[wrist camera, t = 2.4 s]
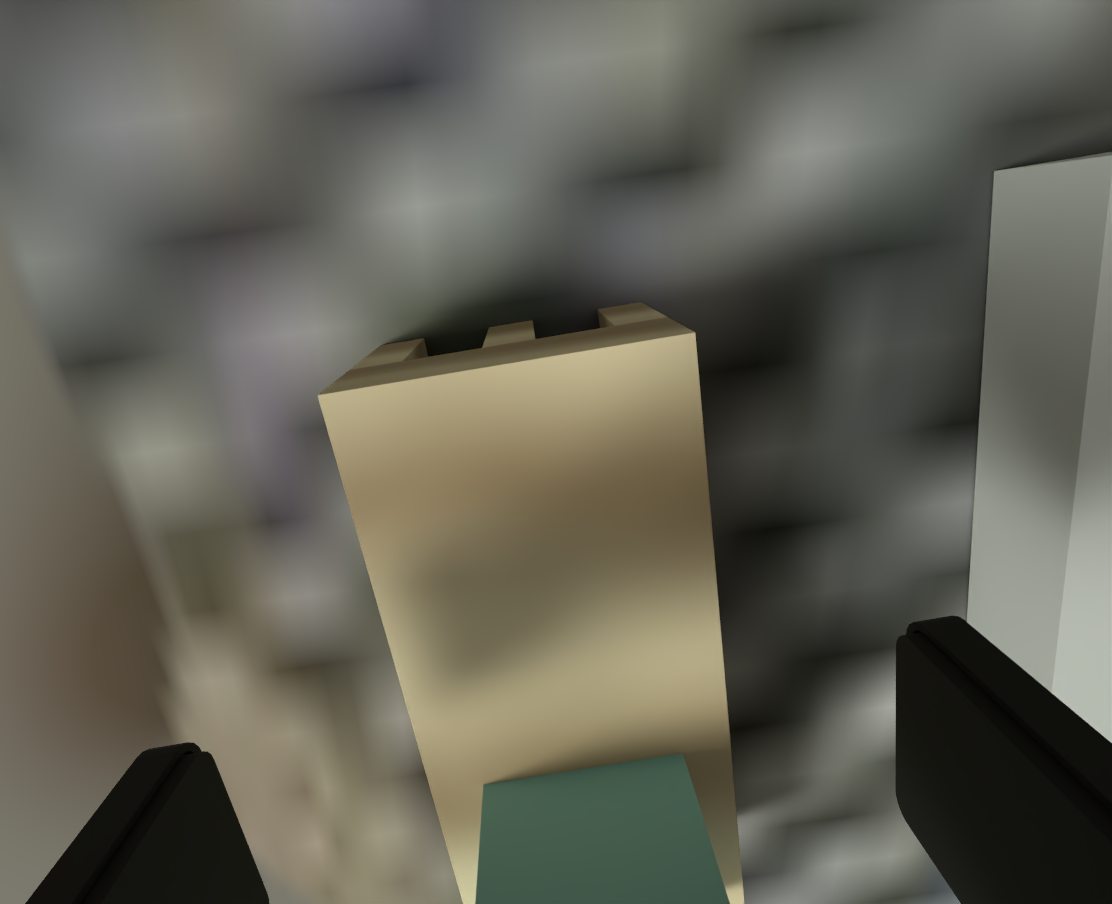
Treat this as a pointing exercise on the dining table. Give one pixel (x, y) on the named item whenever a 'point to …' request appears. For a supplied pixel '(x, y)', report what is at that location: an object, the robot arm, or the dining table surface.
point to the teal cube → (598, 838)
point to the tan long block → (543, 559)
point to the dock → (1048, 433)
